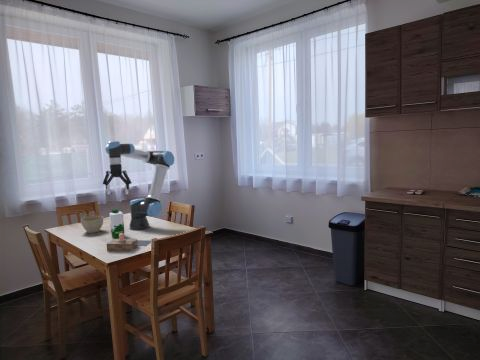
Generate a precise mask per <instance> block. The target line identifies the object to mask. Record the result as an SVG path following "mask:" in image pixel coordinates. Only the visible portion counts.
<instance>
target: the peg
mask: <svg viewBox="0 0 480 360" xmlns="http://www.w3.org/2000/svg"><path fill="white" fill-rule="evenodd" d="M118 239H119V242H122V243H124V239H125V232H124V233H121V234H119V238H118Z"/></svg>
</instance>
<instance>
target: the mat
mask: <svg viewBox="0 0 480 360" xmlns="http://www.w3.org/2000/svg"><path fill="white" fill-rule="evenodd" d="M151 241H152V240H149V239H147V240H140V239H137V242H138V246H137V247H147V246H149V245H150V244H151V243H152V242H151Z"/></svg>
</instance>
